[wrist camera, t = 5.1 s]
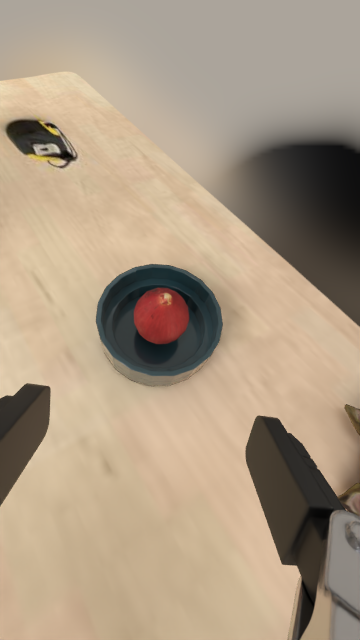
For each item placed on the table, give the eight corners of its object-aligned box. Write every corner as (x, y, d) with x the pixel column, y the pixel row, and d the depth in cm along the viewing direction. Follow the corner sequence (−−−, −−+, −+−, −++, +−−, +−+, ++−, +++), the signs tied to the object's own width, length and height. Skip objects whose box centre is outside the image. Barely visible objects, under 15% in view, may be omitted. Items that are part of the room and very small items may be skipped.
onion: (125, 318, 30) (123, 278, 23) (169, 303, 32) (179, 261, 25) (146, 362, 28) (150, 332, 21) (190, 342, 30) (208, 309, 23)
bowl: (79, 318, 29) (71, 298, 25) (167, 271, 34) (172, 248, 30) (145, 412, 26) (147, 405, 22) (231, 343, 31) (246, 328, 27)
